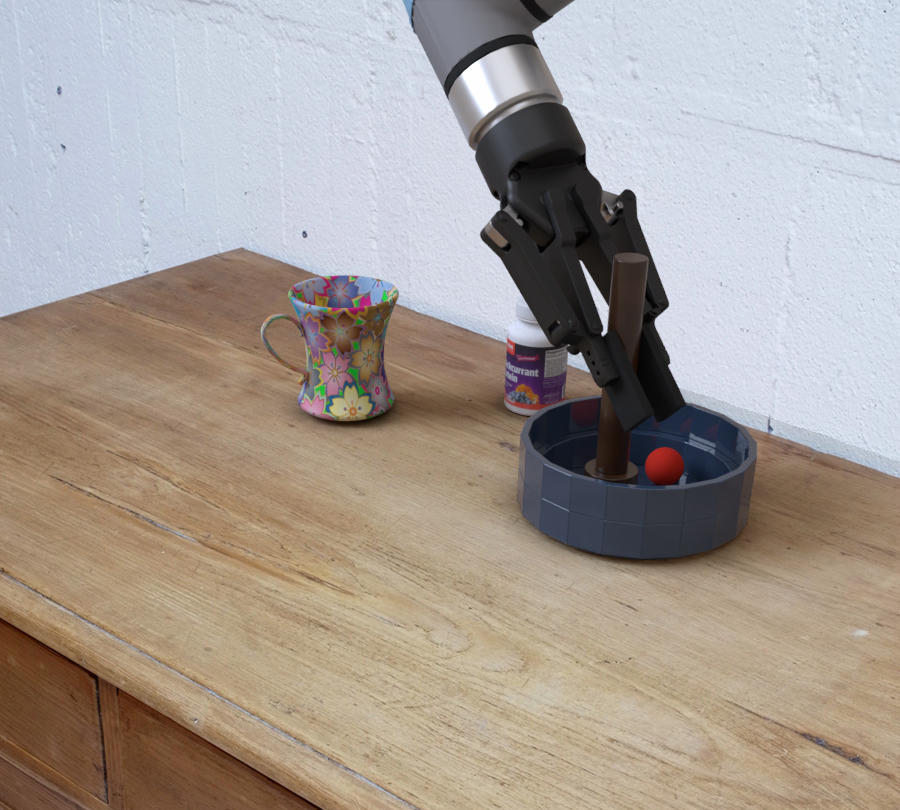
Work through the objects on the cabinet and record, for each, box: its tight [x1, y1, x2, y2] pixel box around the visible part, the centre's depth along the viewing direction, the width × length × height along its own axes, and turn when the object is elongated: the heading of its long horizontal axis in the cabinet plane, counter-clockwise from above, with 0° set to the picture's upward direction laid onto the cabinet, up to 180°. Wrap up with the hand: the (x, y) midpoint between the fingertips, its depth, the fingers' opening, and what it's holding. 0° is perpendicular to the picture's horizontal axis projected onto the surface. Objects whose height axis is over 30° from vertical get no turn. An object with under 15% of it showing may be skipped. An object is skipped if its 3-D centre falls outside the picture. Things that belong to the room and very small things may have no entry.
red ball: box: [645, 447, 684, 486], centre depth 102 cm, size 3×3×3 cm
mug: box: [260, 274, 400, 422], centre depth 113 cm, size 12×9×11 cm
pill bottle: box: [503, 295, 569, 417], centre depth 115 cm, size 5×5×10 cm
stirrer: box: [584, 253, 649, 485], centre depth 94 cm, size 4×4×17 cm
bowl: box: [516, 394, 758, 561], centre depth 98 cm, size 17×17×6 cm
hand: (655, 417), depth 92 cm, fingers closed on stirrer, 2 cm apart
